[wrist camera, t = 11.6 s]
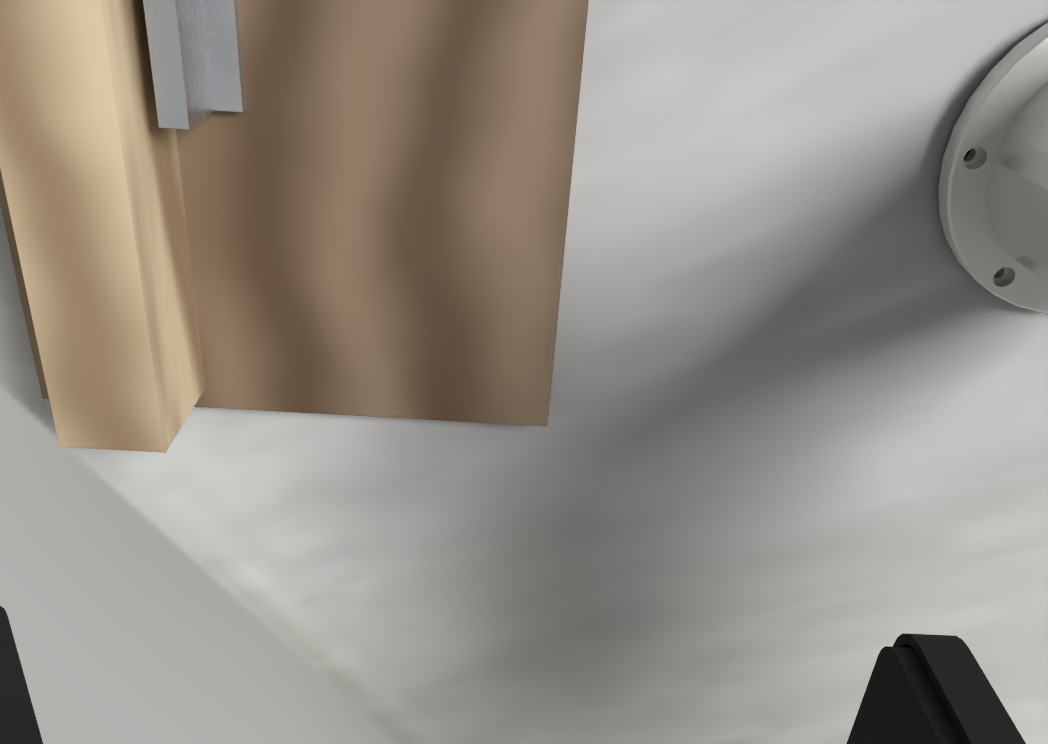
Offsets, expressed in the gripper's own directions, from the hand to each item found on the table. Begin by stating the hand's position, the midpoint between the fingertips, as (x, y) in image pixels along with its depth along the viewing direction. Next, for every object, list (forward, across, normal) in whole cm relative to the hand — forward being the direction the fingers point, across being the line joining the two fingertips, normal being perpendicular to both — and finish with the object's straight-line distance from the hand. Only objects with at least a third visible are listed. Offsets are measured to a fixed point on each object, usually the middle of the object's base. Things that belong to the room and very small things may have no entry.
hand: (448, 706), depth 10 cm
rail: (+27, +14, +3) cm, 30 cm away
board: (+28, +8, +2) cm, 29 cm away
